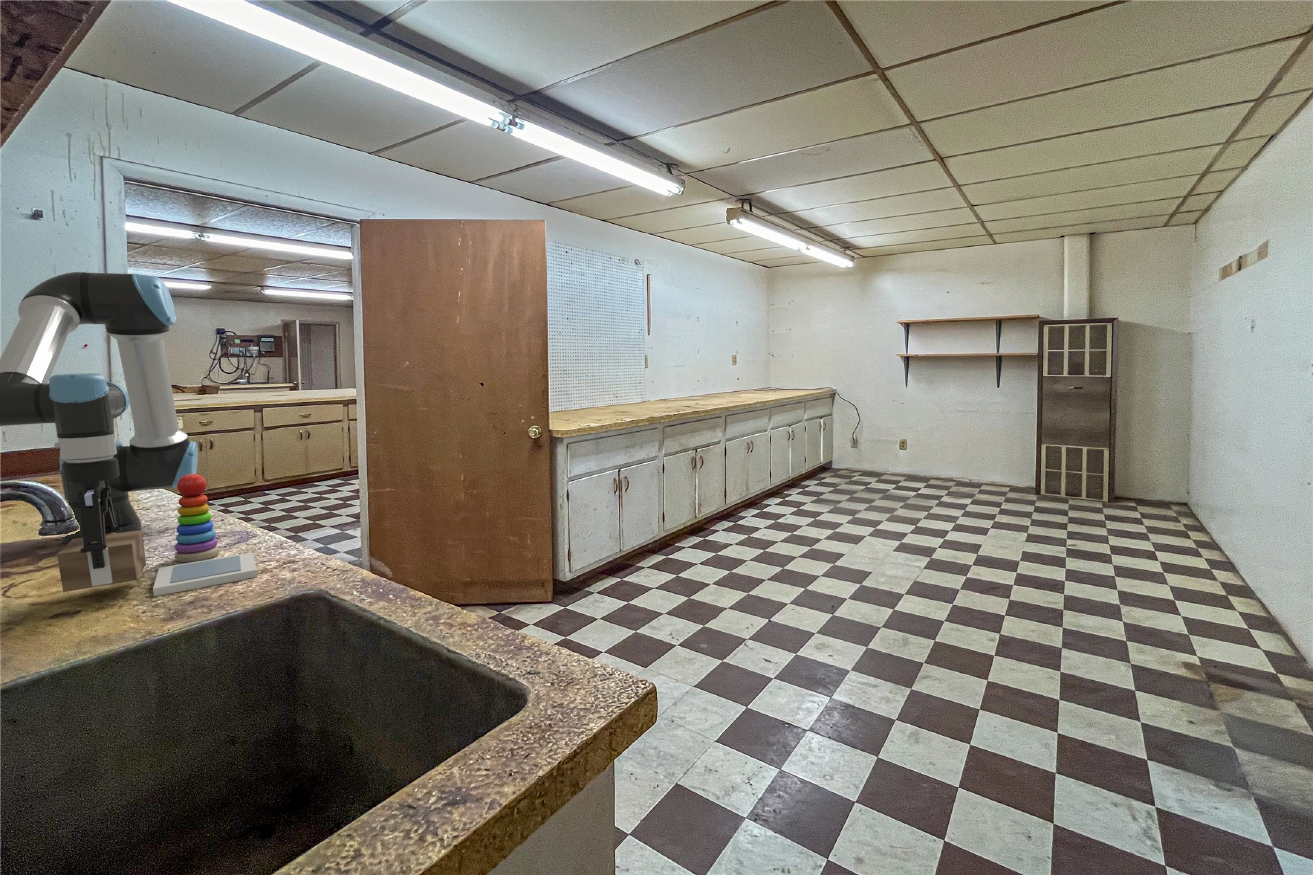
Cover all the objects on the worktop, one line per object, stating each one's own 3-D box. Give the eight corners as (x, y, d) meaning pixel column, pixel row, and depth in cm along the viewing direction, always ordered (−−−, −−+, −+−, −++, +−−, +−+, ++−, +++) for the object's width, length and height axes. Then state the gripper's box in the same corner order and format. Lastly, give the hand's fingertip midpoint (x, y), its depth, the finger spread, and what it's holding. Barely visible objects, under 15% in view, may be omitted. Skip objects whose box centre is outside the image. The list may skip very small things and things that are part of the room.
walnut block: (78, 574, 114) (72, 538, 113) (146, 563, 120) (141, 530, 119) (63, 592, 106) (56, 554, 105) (136, 580, 111) (131, 543, 110)
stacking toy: (196, 564, 129) (185, 478, 126) (165, 562, 130) (154, 477, 128) (229, 552, 136) (219, 471, 134) (199, 551, 138) (190, 470, 135)
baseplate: (160, 574, 123) (158, 566, 122) (254, 558, 132) (253, 551, 132) (153, 596, 111) (152, 587, 111) (257, 576, 121) (256, 568, 120)
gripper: (73, 452, 116) (90, 561, 120) (46, 471, 98) (67, 600, 101) (124, 448, 121) (139, 554, 124) (108, 466, 102) (126, 589, 106)
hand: (107, 575), depth 113 cm, fingers closed on walnut block, 10 cm apart
